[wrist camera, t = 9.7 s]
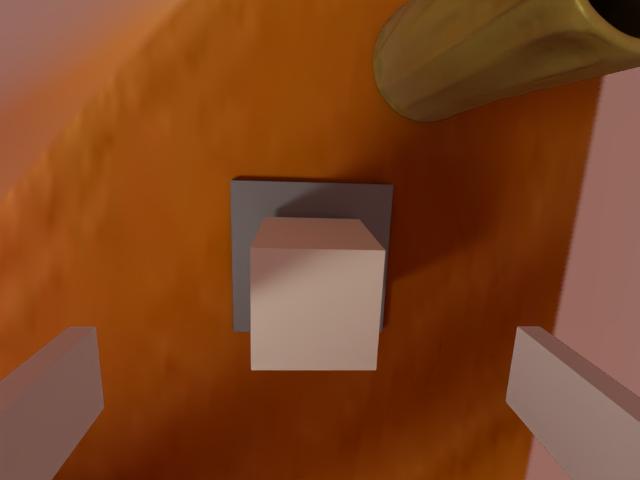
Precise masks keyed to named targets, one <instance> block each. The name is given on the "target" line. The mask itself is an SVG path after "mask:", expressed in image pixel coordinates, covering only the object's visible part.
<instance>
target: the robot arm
mask: <svg viewBox="0 0 640 480" xmlns="http://www.w3.org/2000/svg"><path fill="white" fill-rule="evenodd" d="M506 403H507V404H508V405H509V406H510V407H511V408H512V410H513V411H514V412H515V413H516V414H517V416H518V417H519V418H520V419H521V420H522V421H523V423H524V424H525V425H526V426H527V427H528V429H529V430H530V431H531V432H532V433H533V434H534V436H535V437H536V438H537V439H538V440H539V441H540V443H541V444H542V445H543V446H544V447H545V449H546V450H547V451H548V452H549V453H550V454H551V456H552V457H553V458H554V459H555V460H556V461H557V463H558V464H559V465H560V466H561V467H562V469H563V470H564V471H565V472H566V473H567V474H568V476H569V477H570V478H571V479H572V480H640V397H638V396H637V395H635V394H634V393H633V392H631V391H629V390H628V389H627V388H626V387H624V386H623V385H621V384H620V383H619V382H617V381H616V380H614V379H613V378H612V377H610V376H609V375H607V374H606V373H605V372H603V371H602V370H600V369H599V368H598V367H596V366H595V365H593V364H592V363H590V362H589V361H588V360H586V359H585V358H583V357H582V356H581V355H579V354H578V353H576V352H575V351H574V350H572V349H571V348H570V347H568V346H567V345H565V344H564V343H563V342H561V341H560V340H558V339H557V338H556V337H554V336H553V335H551V334H550V333H548V332H547V331H546V330H544V329H543V328H541V327H540V326H517V331H516V337H515V344H514V350H513V356H512V363H511V369H510V375H509V382H508V388H507V394H506ZM103 409H104V401H103V391H102V382H101V372H100V362H99V353H98V343H97V334H96V327H68V328H67V329H65V330H64V331H63V332H62V333H60V334H59V335H58V336H57V337H55V338H54V339H53V340H52V341H50V342H49V343H48V344H47V345H45V346H44V347H43V348H42V349H40V350H39V351H38V352H36V353H35V354H34V355H33V356H31V357H30V358H29V359H28V360H26V361H25V362H24V363H23V364H21V365H20V366H19V367H18V368H16V369H15V370H14V371H13V372H11V373H10V374H9V375H8V376H6V377H5V378H4V379H2V380H1V381H0V480H52V479H53V477H54V476H55V475H56V473H57V472H58V471H59V469H60V468H61V466H62V465H63V464H64V462H65V461H66V460H67V458H68V457H69V455H70V454H71V453H72V451H73V450H74V449H75V447H76V446H77V444H78V443H79V442H80V440H81V439H82V438H83V436H84V435H85V433H86V432H87V431H88V429H89V428H90V427H91V425H92V424H93V422H94V421H95V420H96V418H97V417H98V416H99V414H100V413H101V411H102V410H103Z"/></svg>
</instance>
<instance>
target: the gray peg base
mask: <svg viewBox="0 0 640 480" xmlns="http://www.w3.org/2000/svg"><path fill="white" fill-rule="evenodd" d="M392 198H393V185H392V184H364V183H329V182H294V181H258V180H231V227H232V276H233V324H234V332H251V302H250V247H251V245H252V243H253V241H254V238H255V236H256V234H257V232H258V230H259V228H260V225H261V223H262V221H263V219H264V217H294V218H334V219H360V221H361V222H362V223H363V224H364V225H365V227H366V228H367V229H368V230H369V231H370V233H371V234H372V235H373V236H374V237H375V239H376V240H377V241H378V242H379V243H380V245H381V246H382V247H383V248H384V249H385V262H384V275H383V288H382V301H381V314H380V327H379V332H382V327H383V314H384V301H385V288H386V275H387V262H388V249H389V237H390V224H391V211H392Z"/></svg>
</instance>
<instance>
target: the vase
mask: <svg viewBox="0 0 640 480" xmlns="http://www.w3.org/2000/svg"><path fill="white" fill-rule="evenodd" d="M636 67H640V0H409V1H408V2H407V3H406V4H405V5H403V6H402V7H400V8H399V9H398V10H396V11H395V12H394V13H393V14H392V16H391V17H390V18H389V19H388V20H387V22H386V23H385V24H384V26H383V28H382V30H381V31H380V34H379V36H378V39H377V42H376V45H375V49H374V56H373V69H374V76H375V80H376V83H377V87H378V89H379V91H380V93H381V95H382V96H383V98H384V99H385V100H386V101H387V103H388V104H389V105H390V106H391V107H392V108H393V109H394V110H395V111H396V112H398V113H399V114H401V115H402V116H404V117H406V118H409V119H411V120H415V121H419V122H432V121H439V120H443V119H446V118H449V117H451V116H452V115H454V114H457V113H461V112H464V111H467V110H470V109H474V108H477V107H480V106H483V105H485V104H488V103H491V102H494V101H497V100H500V99H505V98H510V97H515V96H519V95H523V94H526V93H530V92H533V91H537V90H541V89H546V88H551V87H555V86H560V85H564V84H569V83H573V82H577V81H582V80H586V79H590V78H594V77H599V76H603V75H607V74H611V73H615V72H619V71H624V70H627V69H632V68H636Z"/></svg>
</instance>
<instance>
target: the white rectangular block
mask: <svg viewBox="0 0 640 480" xmlns="http://www.w3.org/2000/svg"><path fill="white" fill-rule="evenodd" d="M384 262H385V249H384V248H383V247H382V246H381V245H380V243H379V242H378V241H377V240H376V239H375V237H374V236H373V235H372V234H371V233H370V231H369V230H368V229H367V228H366V227H365V225H364V224H363V223H362V222H361V221H360V219H334V218H294V217H264V219H263V221H262V223H261V225H260V228H259V230H258V232H257V234H256V236H255V238H254V241H253V243H252V245H251V247H250V302H251V370H376V365H377V352H378V339H379V327H380V314H381V301H382V288H383V275H384Z"/></svg>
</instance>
